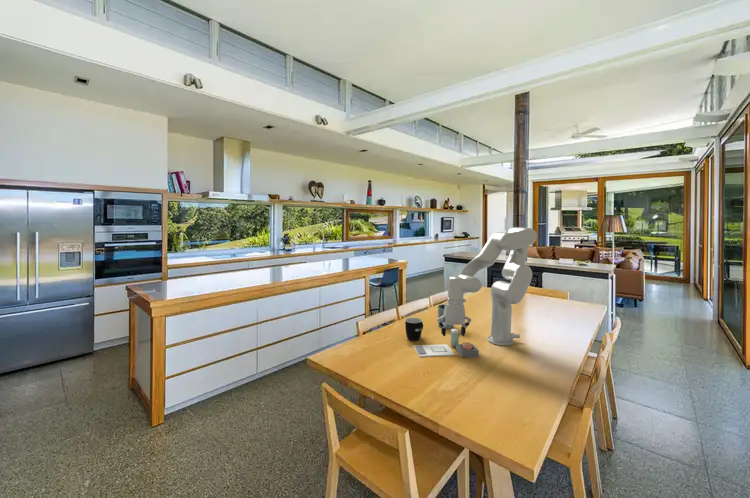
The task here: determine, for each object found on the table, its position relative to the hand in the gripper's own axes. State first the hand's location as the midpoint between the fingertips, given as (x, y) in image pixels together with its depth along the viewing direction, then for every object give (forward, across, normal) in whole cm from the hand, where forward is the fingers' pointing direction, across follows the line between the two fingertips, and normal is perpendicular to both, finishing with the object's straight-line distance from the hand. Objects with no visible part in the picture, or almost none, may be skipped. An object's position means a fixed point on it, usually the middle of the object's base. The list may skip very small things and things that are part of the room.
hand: (453, 335), depth 167 cm
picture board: (+6, +11, +4) cm, 13 cm away
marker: (+6, -1, 0) cm, 6 cm away
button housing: (+6, -4, +9) cm, 11 cm away
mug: (+6, +16, -13) cm, 22 cm away
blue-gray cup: (+6, -6, -29) cm, 30 cm away
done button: (+4, -4, +9) cm, 11 cm away
